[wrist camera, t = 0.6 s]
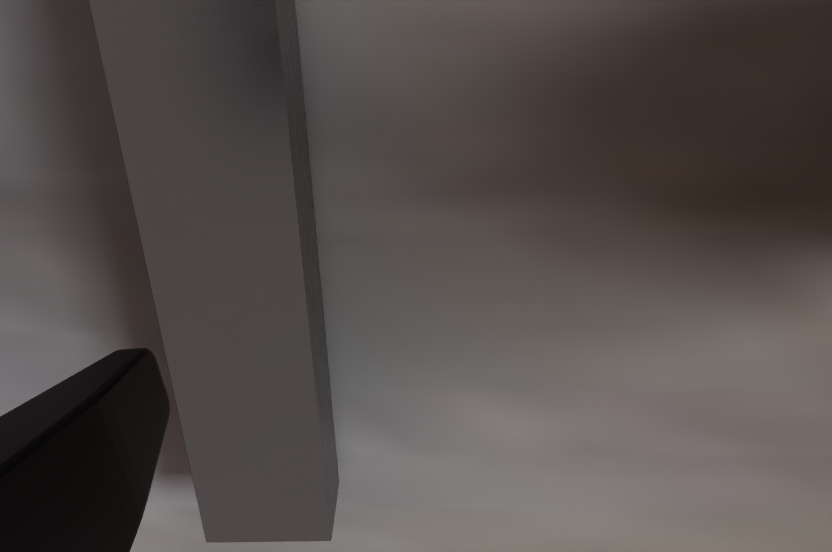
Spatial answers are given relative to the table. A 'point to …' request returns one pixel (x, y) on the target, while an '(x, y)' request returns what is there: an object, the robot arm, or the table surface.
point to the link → (230, 251)
